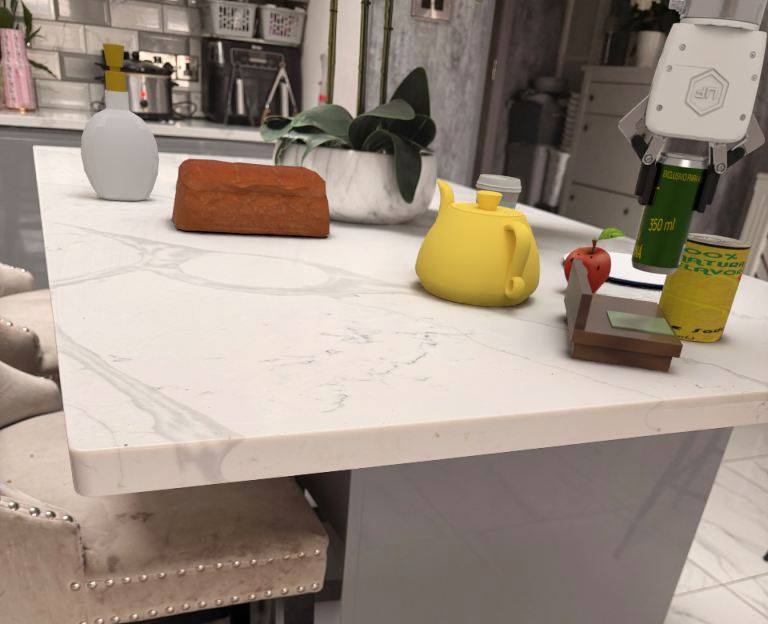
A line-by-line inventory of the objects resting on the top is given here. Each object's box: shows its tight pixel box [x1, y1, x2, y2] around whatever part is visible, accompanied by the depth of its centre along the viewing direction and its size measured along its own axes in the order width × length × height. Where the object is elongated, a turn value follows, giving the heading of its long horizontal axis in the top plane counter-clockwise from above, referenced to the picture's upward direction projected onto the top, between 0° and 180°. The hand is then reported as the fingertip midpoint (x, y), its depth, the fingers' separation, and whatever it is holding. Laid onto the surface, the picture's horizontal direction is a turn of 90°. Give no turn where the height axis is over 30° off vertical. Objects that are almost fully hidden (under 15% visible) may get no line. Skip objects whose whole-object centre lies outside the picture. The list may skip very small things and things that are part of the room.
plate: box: [562, 251, 666, 288], centre depth 135 cm, size 25×25×1 cm
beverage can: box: [657, 232, 752, 343], centre depth 100 cm, size 9×9×12 cm
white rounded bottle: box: [80, 42, 160, 202], centre depth 143 cm, size 14×9×26 cm, turn 118°
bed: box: [563, 259, 684, 373], centre depth 93 cm, size 12×20×8 cm, turn 170°
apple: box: [563, 226, 626, 294], centre depth 114 cm, size 8×7×10 cm
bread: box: [171, 158, 331, 238], centre depth 133 cm, size 16×27×11 cm, turn 109°
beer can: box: [631, 151, 709, 275], centre depth 84 cm, size 5×5×12 cm
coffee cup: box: [475, 173, 522, 210], centre depth 143 cm, size 8×8×12 cm
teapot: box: [414, 179, 541, 307], centre depth 108 cm, size 25×18×14 cm
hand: (670, 205), depth 84 cm, fingers closed on beer can, 5 cm apart
